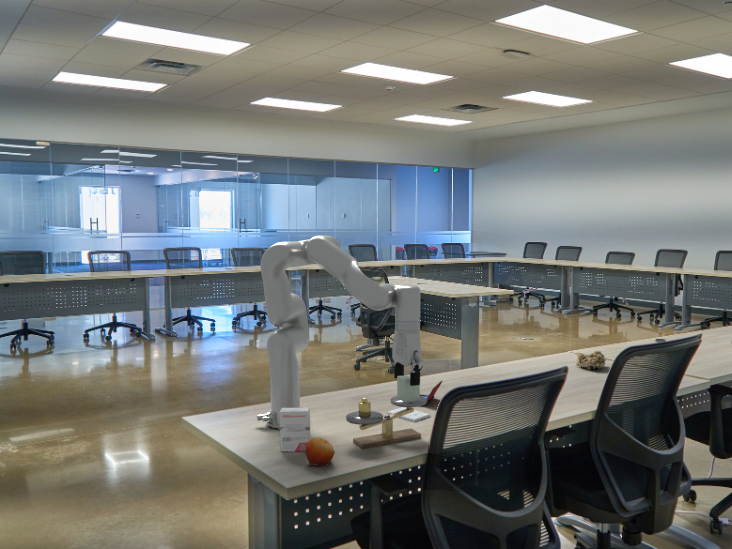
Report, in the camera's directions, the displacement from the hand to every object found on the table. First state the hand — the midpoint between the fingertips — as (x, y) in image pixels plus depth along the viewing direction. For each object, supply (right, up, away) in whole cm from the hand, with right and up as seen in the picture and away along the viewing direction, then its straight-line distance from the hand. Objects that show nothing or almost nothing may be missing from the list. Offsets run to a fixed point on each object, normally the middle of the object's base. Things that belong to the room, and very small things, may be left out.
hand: (406, 381), depth 185 cm
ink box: (-33, -18, -9) cm, 39 cm away
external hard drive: (+2, -16, +22) cm, 28 cm away
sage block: (+1, -6, 0) cm, 6 cm away
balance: (-6, -17, -2) cm, 18 cm away
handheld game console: (+9, -15, +39) cm, 42 cm away
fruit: (-25, -19, -20) cm, 37 cm away
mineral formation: (+90, -10, +89) cm, 127 cm away
